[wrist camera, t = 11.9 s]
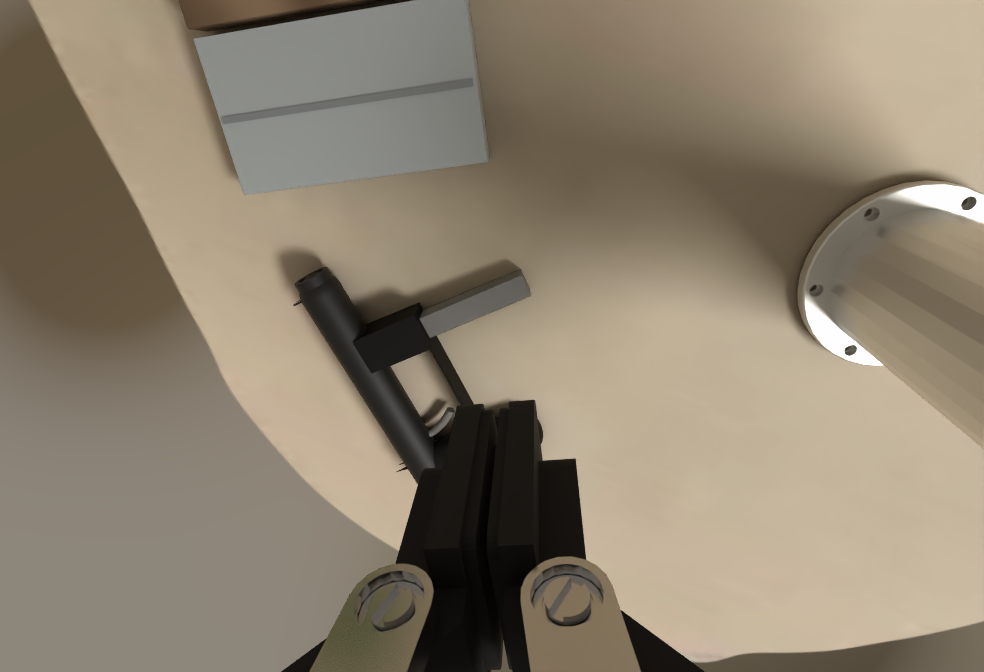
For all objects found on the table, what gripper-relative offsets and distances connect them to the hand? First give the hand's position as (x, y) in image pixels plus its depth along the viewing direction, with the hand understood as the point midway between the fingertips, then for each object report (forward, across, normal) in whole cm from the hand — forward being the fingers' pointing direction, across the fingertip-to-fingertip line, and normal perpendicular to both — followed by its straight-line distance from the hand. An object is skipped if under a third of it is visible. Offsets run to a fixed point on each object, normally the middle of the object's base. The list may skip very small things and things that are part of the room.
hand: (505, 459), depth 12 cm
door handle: (+28, +7, +11) cm, 31 cm away
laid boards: (+27, +10, -8) cm, 30 cm away
